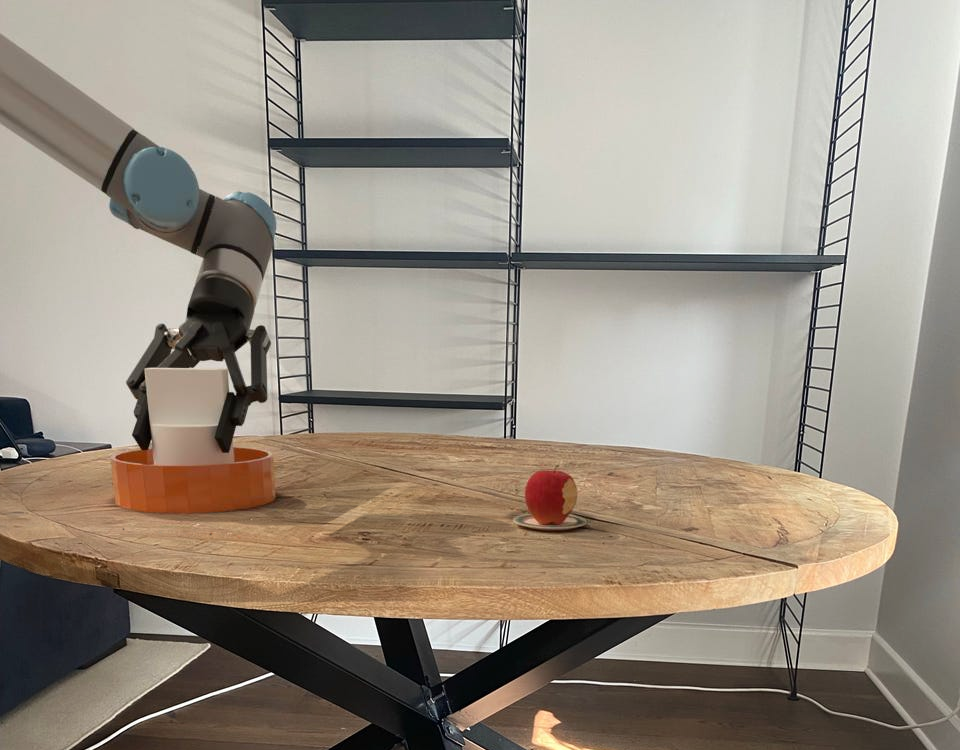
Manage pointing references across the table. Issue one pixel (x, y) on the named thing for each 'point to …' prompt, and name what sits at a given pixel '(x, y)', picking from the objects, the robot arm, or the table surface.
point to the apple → (550, 502)
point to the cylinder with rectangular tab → (186, 415)
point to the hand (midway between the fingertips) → (180, 443)
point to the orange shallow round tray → (193, 483)
